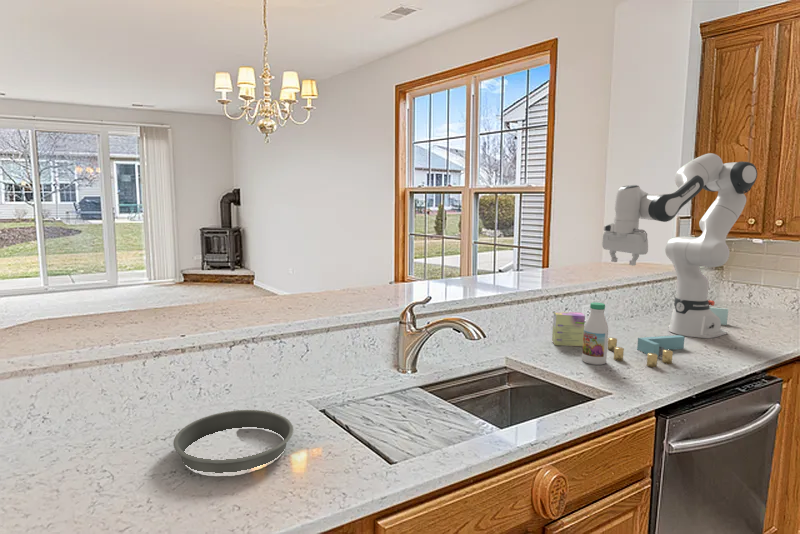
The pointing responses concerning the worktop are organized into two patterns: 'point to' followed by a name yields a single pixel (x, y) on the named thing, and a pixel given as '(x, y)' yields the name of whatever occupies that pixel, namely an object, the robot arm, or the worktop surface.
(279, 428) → the dark grey ring
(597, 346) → the milk bottle
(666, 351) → the brass spacers
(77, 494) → the worktop surface
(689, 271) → the robot arm
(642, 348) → the hook tool
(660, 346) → the nut
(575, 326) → the box
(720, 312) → the l-shaped corner panel
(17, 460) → the worktop surface
